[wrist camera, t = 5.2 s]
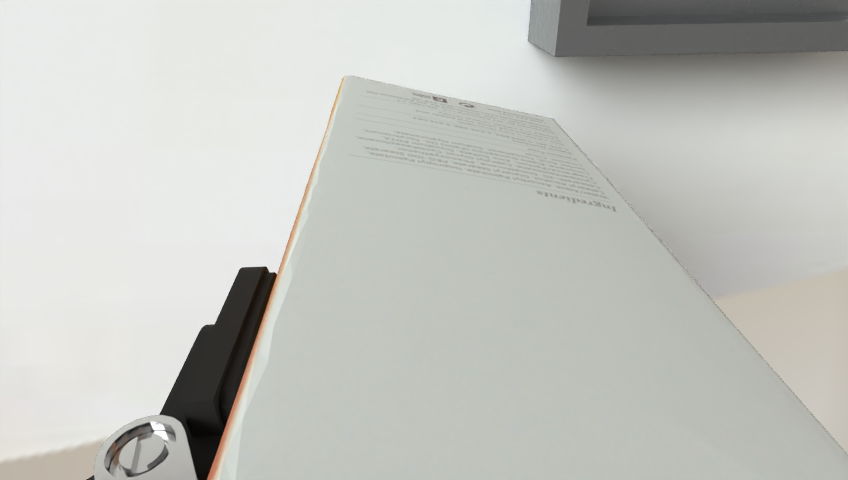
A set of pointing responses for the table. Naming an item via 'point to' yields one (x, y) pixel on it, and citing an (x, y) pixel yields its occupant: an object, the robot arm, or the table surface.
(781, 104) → the table surface
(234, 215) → the table surface
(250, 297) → the robot arm
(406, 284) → the small box
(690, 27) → the cradle
